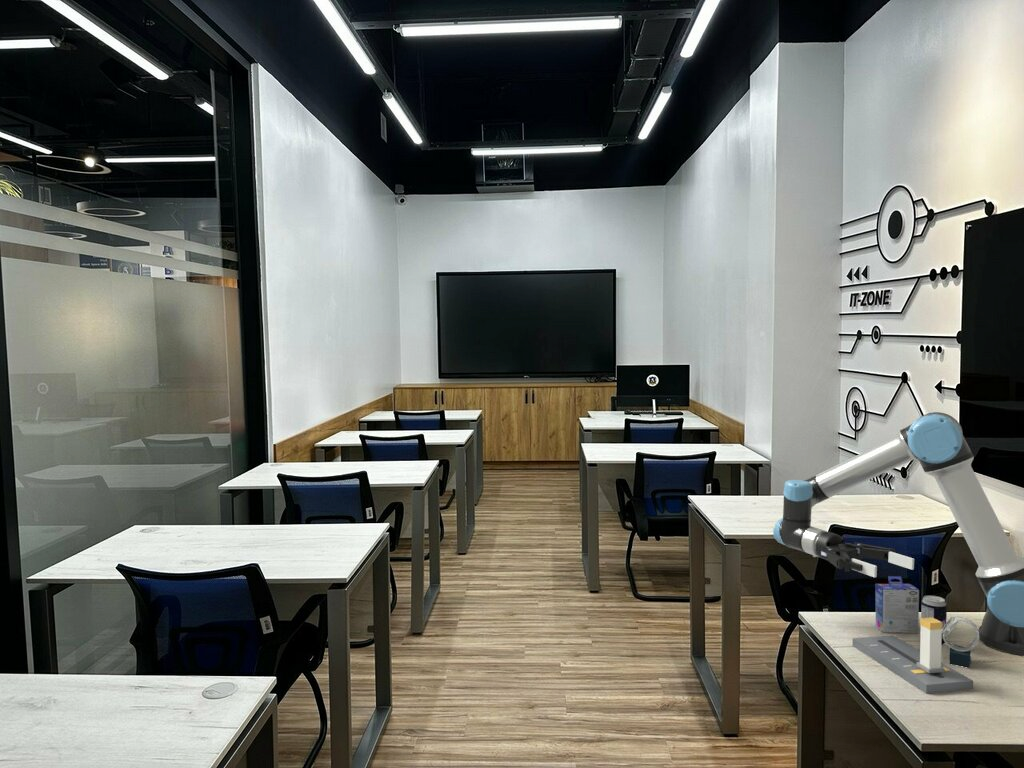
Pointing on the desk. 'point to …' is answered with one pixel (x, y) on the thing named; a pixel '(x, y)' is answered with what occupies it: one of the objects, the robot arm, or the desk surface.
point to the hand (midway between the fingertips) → (894, 568)
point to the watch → (957, 653)
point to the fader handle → (930, 645)
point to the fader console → (911, 664)
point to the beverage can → (934, 610)
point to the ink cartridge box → (897, 607)
